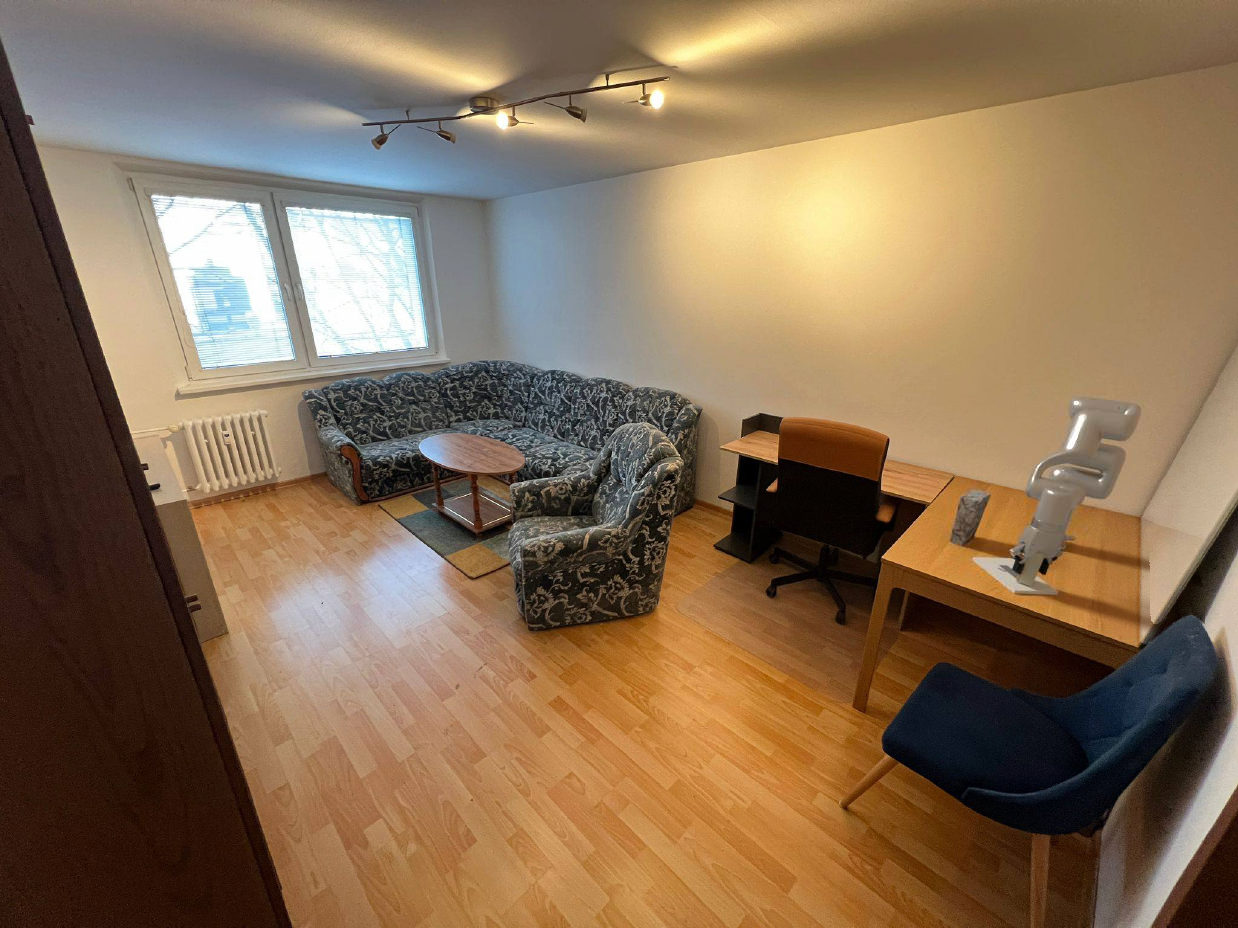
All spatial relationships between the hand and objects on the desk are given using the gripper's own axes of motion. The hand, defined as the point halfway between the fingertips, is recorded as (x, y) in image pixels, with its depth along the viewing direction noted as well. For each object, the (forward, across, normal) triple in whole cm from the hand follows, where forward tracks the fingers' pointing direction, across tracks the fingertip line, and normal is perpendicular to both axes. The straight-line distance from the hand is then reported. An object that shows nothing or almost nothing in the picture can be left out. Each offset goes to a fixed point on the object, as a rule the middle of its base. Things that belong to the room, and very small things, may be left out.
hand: (1028, 571), depth 157 cm
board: (+5, 0, -5) cm, 7 cm away
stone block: (+5, +1, -30) cm, 30 cm away
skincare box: (+3, 0, 0) cm, 3 cm away
